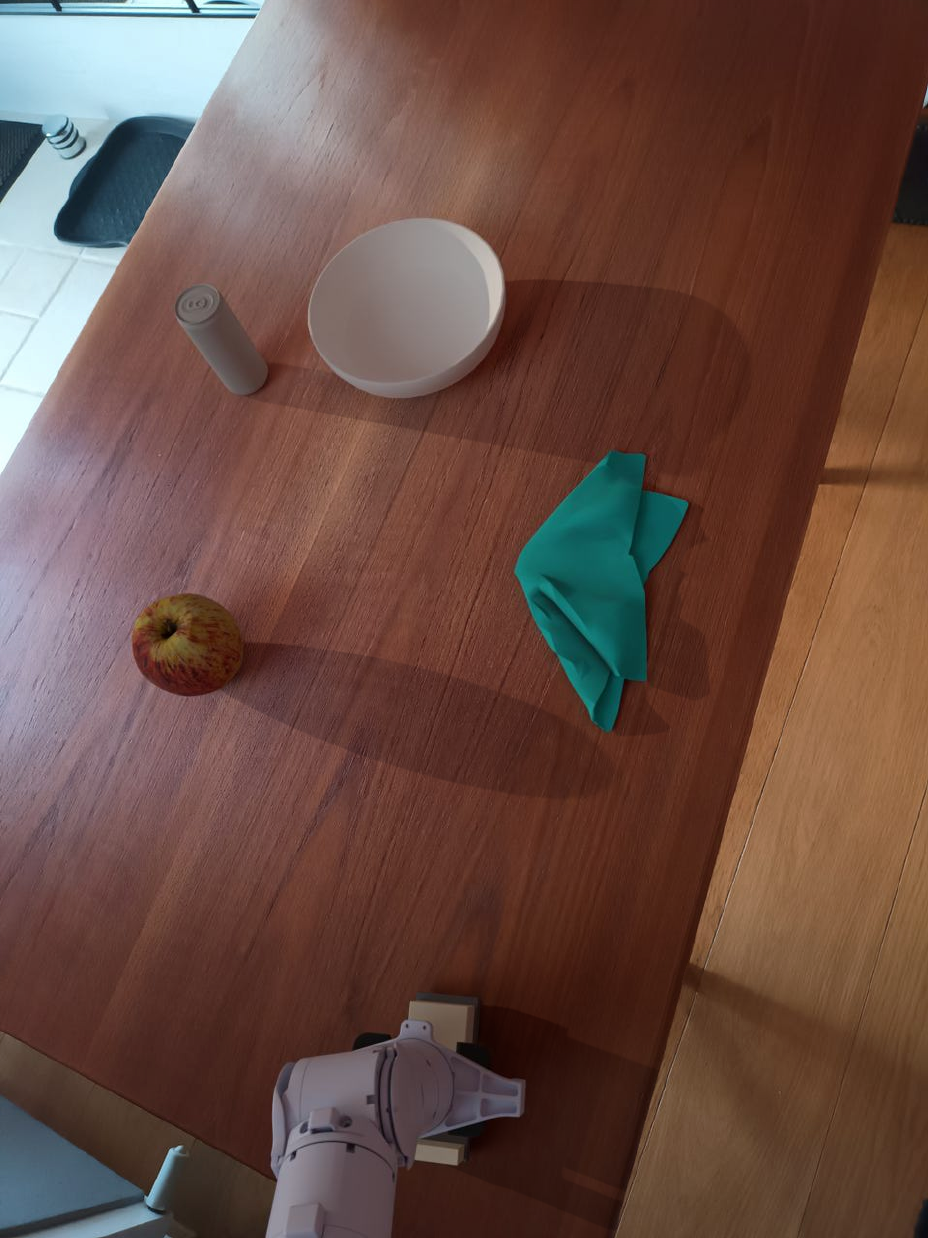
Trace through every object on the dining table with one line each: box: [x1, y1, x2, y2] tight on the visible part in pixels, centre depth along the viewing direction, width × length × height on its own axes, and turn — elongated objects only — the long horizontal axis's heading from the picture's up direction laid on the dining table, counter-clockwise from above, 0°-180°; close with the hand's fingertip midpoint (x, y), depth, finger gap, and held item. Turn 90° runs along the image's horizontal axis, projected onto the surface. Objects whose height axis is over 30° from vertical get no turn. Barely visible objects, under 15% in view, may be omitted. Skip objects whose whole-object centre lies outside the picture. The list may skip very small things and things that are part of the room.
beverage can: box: [173, 282, 269, 396], centre depth 94 cm, size 5×5×12 cm
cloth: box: [514, 449, 689, 732], centre depth 83 cm, size 26×14×2 cm, turn 162°
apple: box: [131, 592, 244, 697], centre depth 84 cm, size 9×9×10 cm
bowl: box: [307, 217, 507, 399], centre depth 94 cm, size 20×20×6 cm
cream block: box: [407, 991, 482, 1166], centre depth 70 cm, size 11×5×4 cm, turn 175°
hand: (440, 1074), depth 70 cm, fingers closed on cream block, 4 cm apart
